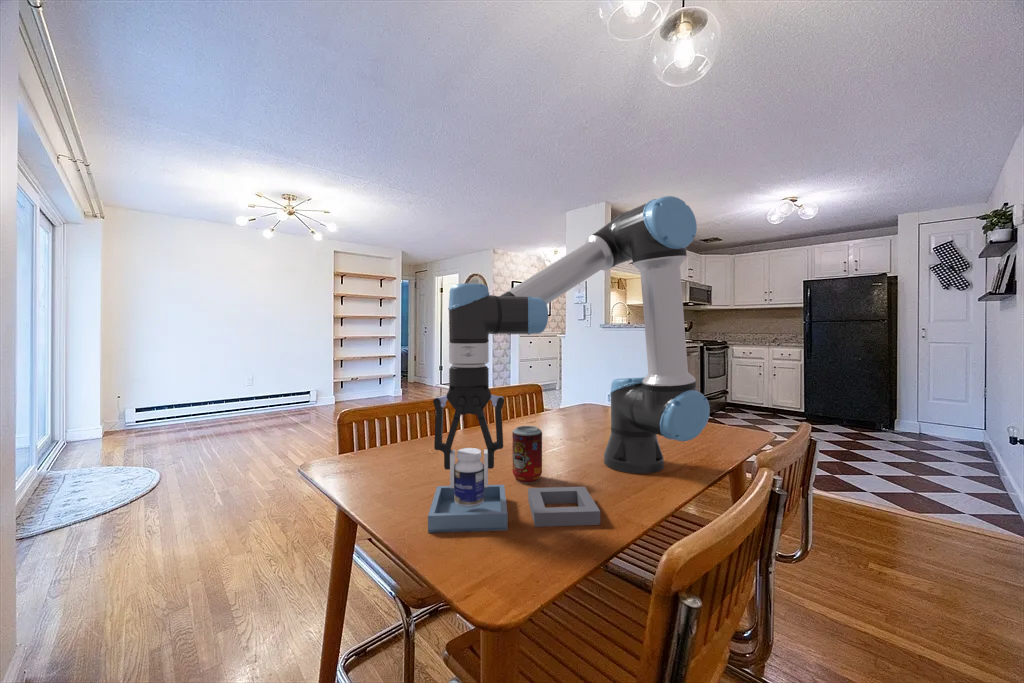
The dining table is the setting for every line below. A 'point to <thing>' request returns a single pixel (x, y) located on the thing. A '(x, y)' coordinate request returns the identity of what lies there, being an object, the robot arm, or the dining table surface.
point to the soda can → (527, 454)
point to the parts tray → (468, 512)
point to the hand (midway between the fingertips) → (469, 484)
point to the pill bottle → (469, 478)
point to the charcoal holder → (562, 515)
